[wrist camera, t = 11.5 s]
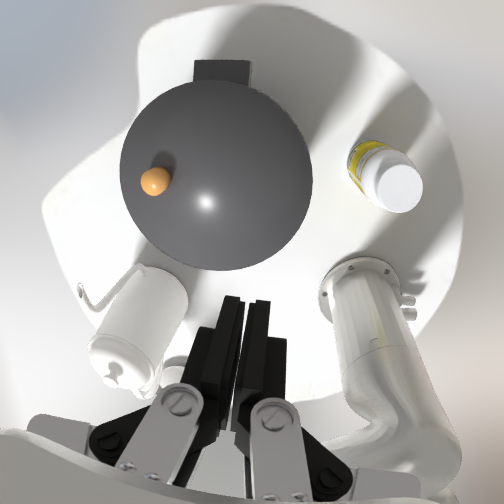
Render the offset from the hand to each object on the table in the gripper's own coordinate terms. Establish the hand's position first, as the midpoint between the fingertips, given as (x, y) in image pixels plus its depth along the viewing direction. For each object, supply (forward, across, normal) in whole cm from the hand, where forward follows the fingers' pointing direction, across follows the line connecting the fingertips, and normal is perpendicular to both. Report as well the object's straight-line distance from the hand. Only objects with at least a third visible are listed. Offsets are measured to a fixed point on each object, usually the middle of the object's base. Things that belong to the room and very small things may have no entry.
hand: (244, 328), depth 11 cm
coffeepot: (+28, +16, +21) cm, 38 cm away
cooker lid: (+16, +5, -1) cm, 17 cm away
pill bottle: (+28, -12, -3) cm, 30 cm away
